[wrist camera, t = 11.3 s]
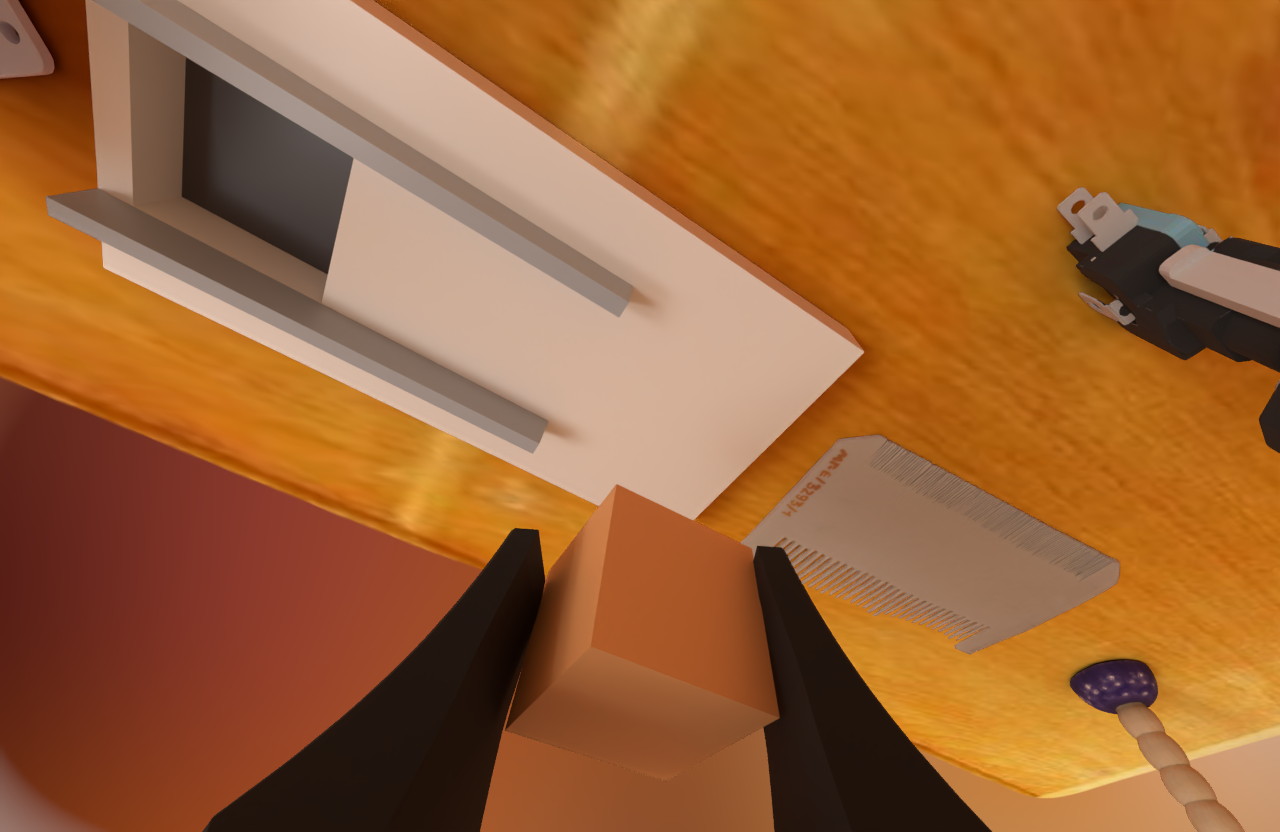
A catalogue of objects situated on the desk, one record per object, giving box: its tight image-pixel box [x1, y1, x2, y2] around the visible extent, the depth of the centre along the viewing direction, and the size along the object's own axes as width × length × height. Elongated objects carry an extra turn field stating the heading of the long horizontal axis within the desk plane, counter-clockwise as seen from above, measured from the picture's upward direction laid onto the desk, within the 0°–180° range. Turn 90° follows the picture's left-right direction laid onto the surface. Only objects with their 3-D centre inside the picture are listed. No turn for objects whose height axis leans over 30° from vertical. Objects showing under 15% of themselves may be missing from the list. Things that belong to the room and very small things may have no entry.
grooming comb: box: [741, 435, 1120, 654], centre depth 25 cm, size 18×10×1 cm, turn 63°
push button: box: [1057, 187, 1280, 453], centre depth 12 cm, size 7×5×10 cm
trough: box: [46, 0, 864, 520], centre depth 17 cm, size 24×12×4 cm, turn 58°
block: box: [505, 484, 780, 781], centre depth 11 cm, size 4×4×4 cm
